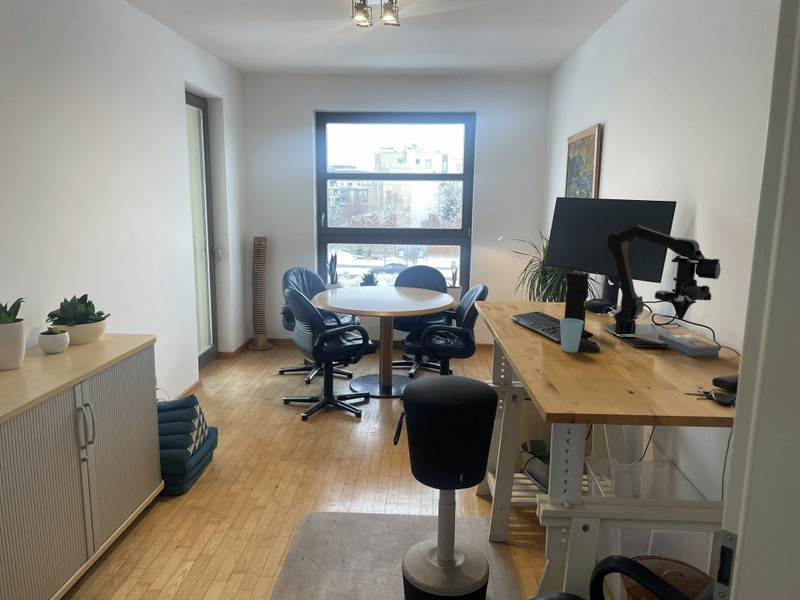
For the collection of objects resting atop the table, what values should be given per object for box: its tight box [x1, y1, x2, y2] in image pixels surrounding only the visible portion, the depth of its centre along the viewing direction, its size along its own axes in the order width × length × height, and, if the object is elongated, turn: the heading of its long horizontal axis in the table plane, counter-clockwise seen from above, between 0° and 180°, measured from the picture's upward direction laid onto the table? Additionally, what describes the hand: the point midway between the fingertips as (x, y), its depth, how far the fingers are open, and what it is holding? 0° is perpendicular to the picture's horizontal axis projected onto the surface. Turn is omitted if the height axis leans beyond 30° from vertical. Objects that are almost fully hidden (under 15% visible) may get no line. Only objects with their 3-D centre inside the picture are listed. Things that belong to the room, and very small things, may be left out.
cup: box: [559, 318, 584, 353], centre depth 197 cm, size 8×8×10 cm
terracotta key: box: [691, 343, 707, 347], centre depth 196 cm, size 4×4×2 cm
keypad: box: [658, 333, 720, 359], centre depth 201 cm, size 10×18×4 cm, turn 12°
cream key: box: [680, 334, 698, 342], centre depth 201 cm, size 4×4×2 cm
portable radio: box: [563, 265, 590, 331], centre depth 226 cm, size 8×6×25 cm
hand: (680, 319), depth 205 cm, fingers closed
